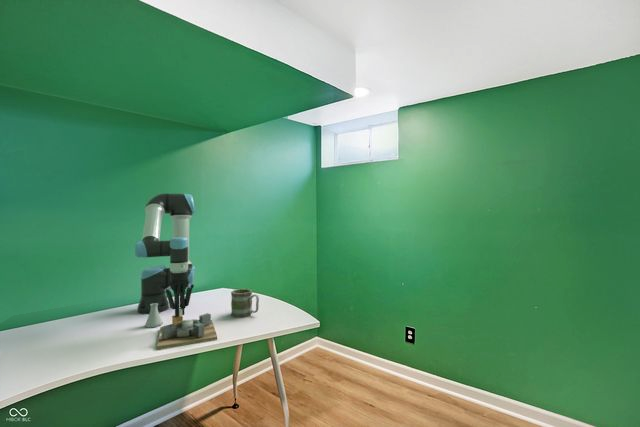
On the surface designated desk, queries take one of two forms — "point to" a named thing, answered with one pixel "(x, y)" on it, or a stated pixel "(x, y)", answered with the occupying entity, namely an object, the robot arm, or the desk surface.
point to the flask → (154, 317)
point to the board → (179, 341)
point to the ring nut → (176, 329)
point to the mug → (243, 303)
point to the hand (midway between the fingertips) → (179, 322)
